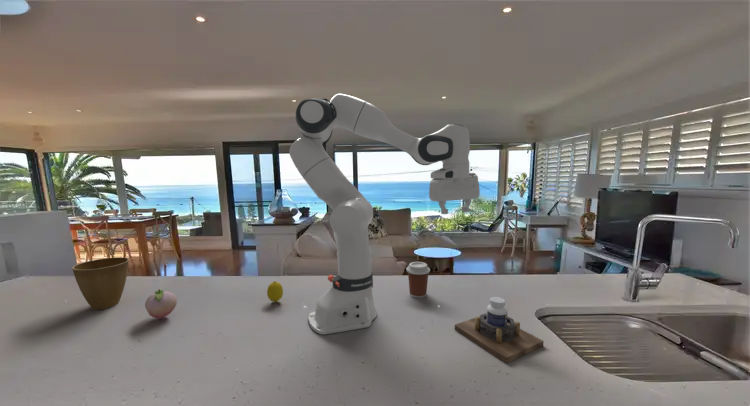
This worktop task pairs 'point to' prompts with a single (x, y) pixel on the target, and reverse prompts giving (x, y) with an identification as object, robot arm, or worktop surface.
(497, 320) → the pill bottle
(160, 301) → the decorative fruit
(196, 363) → the worktop surface
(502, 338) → the collar stand
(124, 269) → the plant pot
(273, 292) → the lemon
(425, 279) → the coffee cup
